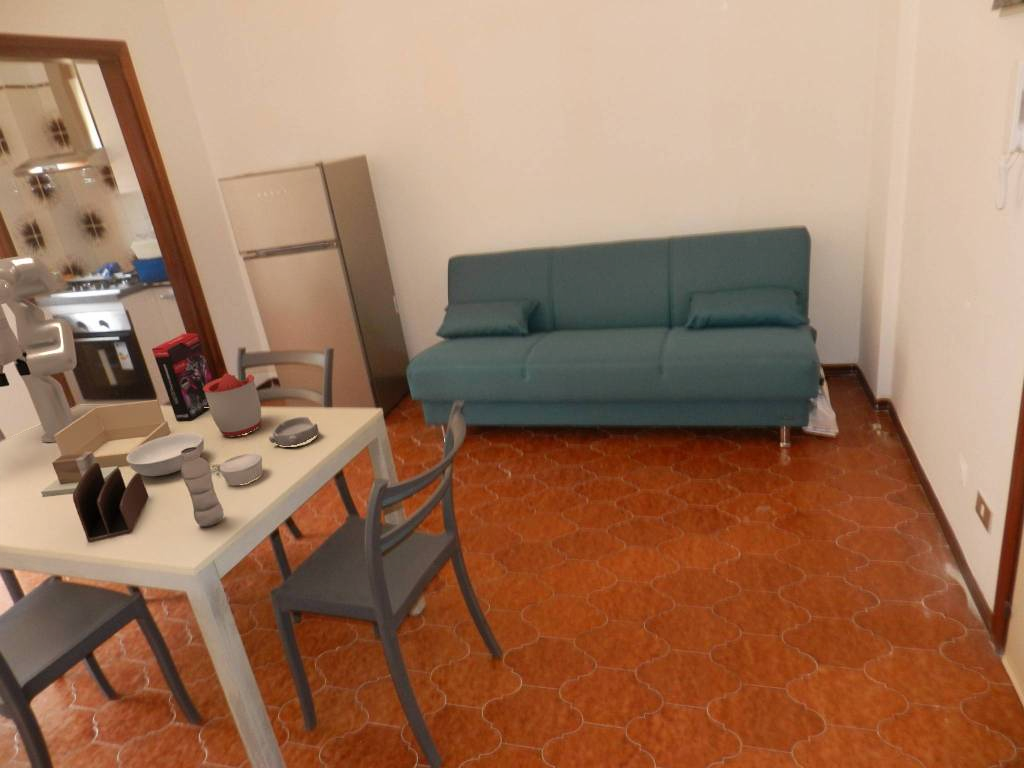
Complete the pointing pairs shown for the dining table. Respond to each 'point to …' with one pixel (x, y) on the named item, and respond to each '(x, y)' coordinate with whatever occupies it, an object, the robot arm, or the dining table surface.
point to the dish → (294, 431)
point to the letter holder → (108, 503)
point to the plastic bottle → (201, 488)
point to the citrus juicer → (234, 404)
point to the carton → (113, 430)
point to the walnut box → (73, 466)
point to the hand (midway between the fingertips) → (14, 380)
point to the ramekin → (242, 468)
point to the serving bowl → (163, 454)
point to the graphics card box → (184, 375)
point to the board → (72, 484)
